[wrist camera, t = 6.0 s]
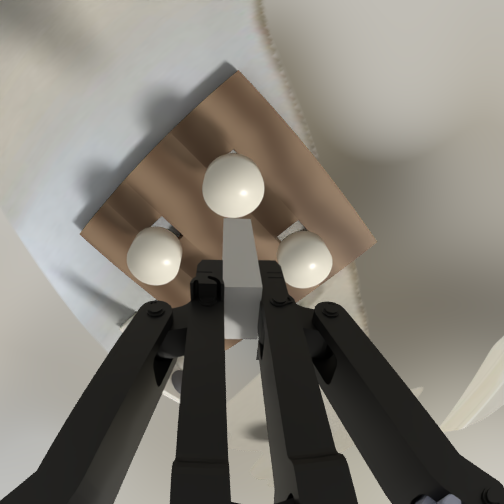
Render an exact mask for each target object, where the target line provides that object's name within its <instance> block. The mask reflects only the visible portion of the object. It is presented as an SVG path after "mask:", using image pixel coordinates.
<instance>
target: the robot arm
mask: <svg viewBox="0 0 504 504" xmlns="http://www.w3.org/2000/svg"><path fill="white" fill-rule="evenodd" d="M190 296H191V301H190V302H189V303H187V304H185V305H183V306H180V307H176V308H172V307H171V305H169V304H168V303H167V302H164V301H157V300H155V301H149V302H147V303H145V304H143V305H142V306H141V307H140V309H139V310H138V311H137V313H136V314H135V316H134V317H133V319H132V320H131V321H130V323H129V324H128V326H127V327H126V329H125V330H124V332H123V333H122V335H121V336H120V338H119V339H118V341H117V342H116V343H115V345H114V346H113V348H112V349H111V351H110V352H109V354H108V355H107V357H106V359H105V360H104V362H103V363H102V365H101V366H100V368H99V369H98V371H97V372H96V374H95V375H94V377H93V379H92V380H91V382H90V383H89V385H88V387H87V388H86V389H85V391H84V393H83V394H82V396H81V398H80V399H79V400H78V402H77V404H76V405H75V407H74V409H73V410H72V412H71V413H70V415H69V417H68V418H67V420H66V422H65V423H64V425H63V427H62V428H61V430H60V432H59V433H58V435H57V437H56V438H55V440H54V442H53V443H52V445H51V447H50V449H49V450H48V452H47V454H46V456H45V458H44V459H43V461H42V463H41V464H40V466H39V468H38V470H37V471H36V472H35V473H33V474H32V475H31V476H30V477H29V478H27V479H26V480H25V481H24V482H23V483H21V484H20V485H19V486H18V487H17V488H15V489H14V490H13V491H12V492H10V493H9V494H8V495H7V496H6V497H4V498H3V499H2V500H1V501H0V504H113V503H114V501H115V499H116V496H117V494H118V492H119V489H120V487H121V484H122V482H123V480H124V478H125V476H126V473H127V471H128V469H129V466H130V464H131V462H132V459H133V457H134V455H135V453H136V450H137V448H138V446H139V444H140V441H141V439H142V437H143V435H144V432H145V430H146V428H147V426H148V423H149V421H150V419H151V417H152V415H153V412H154V410H155V408H156V405H157V403H158V401H159V399H160V397H161V395H162V392H163V390H164V388H165V386H166V384H167V382H168V379H169V377H170V375H171V373H172V371H173V368H174V366H175V364H176V362H177V358H178V357H181V356H184V363H183V373H182V383H181V394H180V406H179V419H178V431H177V446H176V458H175V460H174V462H173V465H172V473H171V492H170V504H238V503H234V502H231V495H230V477H229V476H230V474H229V462H228V443H227V415H226V385H225V384H226V382H225V339H257V336H259V341H258V350H257V359H256V360H259V362H260V371H261V379H262V388H263V396H264V404H265V413H266V421H267V429H268V438H269V446H270V454H271V462H272V470H273V478H274V487H275V494H274V504H358V502H357V498H356V494H355V490H354V486H353V482H352V478H351V474H350V471H349V467H348V463H347V461H346V458H345V457H344V456H343V454H340V453H338V452H337V451H336V448H335V445H334V441H333V437H332V433H331V429H330V425H329V421H328V418H327V414H326V410H325V406H324V403H323V399H322V395H321V391H320V388H319V385H320V387H321V389H322V390H323V392H324V394H325V395H326V397H327V399H328V400H329V402H330V404H331V405H332V407H333V409H334V410H335V412H336V414H337V415H338V417H339V419H340V420H341V422H342V424H343V425H344V427H345V429H346V430H347V432H348V434H349V435H350V437H351V439H352V440H353V442H354V444H355V445H356V447H357V448H358V450H359V452H360V453H361V455H362V457H363V458H364V460H365V462H366V463H367V465H368V466H369V468H370V470H371V471H372V473H373V475H374V476H375V478H376V480H377V481H378V483H379V485H380V486H381V488H382V490H383V491H384V493H385V494H386V496H387V497H388V499H389V500H390V501H391V503H392V504H504V487H503V485H502V484H501V483H500V482H499V481H498V480H496V479H495V478H493V477H492V476H490V475H489V474H487V473H486V472H484V471H483V470H481V469H480V468H478V467H477V466H476V465H474V464H473V463H471V462H470V461H468V460H467V459H465V458H464V457H463V456H461V455H460V454H459V453H458V452H457V450H456V449H455V448H454V446H453V445H452V444H451V443H450V441H449V440H448V438H447V437H446V436H445V435H444V433H443V432H442V431H441V429H440V428H439V427H438V425H437V424H436V423H435V421H434V420H433V419H432V418H431V416H430V415H429V414H428V412H427V411H426V410H425V409H424V407H423V406H422V405H421V403H420V402H419V401H418V399H417V398H416V397H415V396H414V394H413V393H412V392H411V390H410V389H409V388H408V387H407V385H406V384H405V383H404V382H403V380H402V379H401V378H400V377H399V375H398V374H397V373H396V372H395V370H394V369H393V368H392V367H391V365H390V364H389V363H388V362H387V360H386V359H385V358H384V357H383V355H382V354H381V353H380V352H379V350H378V349H377V348H376V347H375V345H374V344H373V343H372V342H371V341H370V339H369V338H368V337H367V336H366V334H365V333H364V332H363V331H362V330H361V328H360V327H359V326H358V325H357V323H356V322H355V321H354V320H353V319H352V317H351V316H350V315H349V314H348V313H347V311H346V310H345V309H344V308H343V307H342V306H340V305H338V304H336V303H333V302H321V303H318V304H317V305H316V306H315V309H310V308H305V307H302V306H299V305H297V304H296V302H295V300H294V298H293V297H291V296H290V295H289V294H288V290H287V286H286V283H285V279H284V276H283V272H282V269H281V266H280V265H279V264H278V263H277V262H276V261H275V260H258V258H257V252H256V247H255V241H254V235H253V229H252V224H251V219H234V218H224V223H223V257H222V260H201V262H200V263H199V264H198V265H197V271H196V277H194V278H193V279H192V280H191V282H190Z"/></svg>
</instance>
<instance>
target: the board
mask: <svg viewBox="0 0 504 504" xmlns="http://www.w3.org/2000/svg"><path fill="white" fill-rule="evenodd" d="M233 149H234V150H235V151H236V152H237V153H238V154H242V155H245V156H247V157H249V158H250V159H251V160H253V161H254V162H255V164H256V165H257V166H258V168H259V170H260V173H261V175H262V178H263V182H264V195H263V198H262V201H261V202H260V204H259V205H258V207H257V208H256V209H255V210H254V211H252V212H251V213H249V214H247V215H245V216H242V217H238V218H234V219H251V224H252V229H253V235H254V241H255V247H256V252H257V258H258V260H275V261H276V262H277V263H278V261H277V249H278V247H279V245H280V243H281V241H280V240H279V239H278V238H277V236H278V235H280V234H281V233H282V232H283V231H285V230H286V229H287V228H288V227H290V226H291V225H292V224H293V223H295V222H296V221H297V220H299V221H300V222H301V223H302V224H303V226H304V227H305V228H306V229H307V230H308V231H310V232H313V233H315V234H317V235H319V236H320V237H321V238H322V240H323V241H324V243H325V245H326V247H327V248H328V250H329V252H330V254H331V256H332V268H331V271H330V273H329V275H328V276H327V277H326V278H325V279H324V280H323V281H322V282H321V283H319V284H318V285H316V286H313V287H310V288H296V287H293V286H291V285H289V284H288V283H286V282H285V283H286V286H287V290H288V294H289V295H290V296H291V297H293V298H294V300H295V302H298V301H299V300H301V299H302V298H303V297H305V296H306V295H308V294H309V293H310V292H312V291H313V290H315V289H316V288H317V287H319V286H320V285H321V284H323V283H324V282H325V281H327V280H328V279H330V278H331V277H332V276H334V275H335V274H336V273H338V272H339V271H340V270H342V269H343V268H344V267H346V266H347V265H348V264H350V263H351V262H352V261H353V260H355V259H356V258H357V257H359V256H360V255H361V254H363V253H364V252H365V251H366V250H368V249H369V248H370V247H371V246H373V245H374V244H375V243H377V241H376V239H375V238H374V236H373V235H372V233H371V232H370V231H369V229H368V228H367V226H366V225H365V223H364V222H363V221H362V219H361V218H360V216H359V215H358V214H357V212H356V211H355V209H354V208H353V207H352V205H351V204H350V203H349V201H348V200H347V199H346V197H345V196H344V195H343V193H342V192H341V190H340V189H339V188H338V187H337V185H336V184H335V183H334V181H333V180H332V179H331V177H330V176H329V175H328V173H327V172H326V171H325V170H324V168H323V167H322V166H321V164H320V163H319V162H318V161H317V159H316V158H315V157H314V156H313V154H312V153H311V152H310V151H309V150H308V148H307V147H306V146H305V145H304V143H303V142H302V141H301V140H300V139H299V137H298V136H297V135H296V134H295V133H294V131H293V130H292V129H291V128H290V127H289V126H288V124H287V123H286V122H285V121H284V120H283V119H282V117H281V116H280V115H279V114H278V113H277V112H276V111H275V109H274V108H273V107H272V106H271V105H270V104H269V103H268V102H267V100H266V99H265V98H264V97H263V96H262V95H261V94H260V93H259V92H258V91H257V89H256V88H255V87H254V86H253V85H252V84H251V83H250V82H249V81H248V80H247V79H246V78H245V77H244V76H243V74H242V73H241V72H240V71H239V70H238V71H237V72H236V73H235V74H233V75H232V76H231V77H230V78H229V79H227V80H226V81H225V82H224V83H223V84H222V85H220V86H219V87H218V88H217V89H216V90H215V91H213V92H212V93H211V94H210V95H209V96H208V97H207V98H206V99H204V100H203V101H202V102H201V103H200V104H199V105H198V106H197V107H196V108H195V109H193V110H192V111H191V112H190V113H189V114H188V115H187V116H186V117H185V118H184V119H183V120H182V121H181V122H180V123H179V124H178V125H177V126H176V127H175V128H174V129H173V130H171V131H170V132H169V133H168V134H167V135H166V136H165V137H164V138H163V139H162V140H161V141H160V142H159V144H158V145H157V146H156V147H155V148H154V149H153V150H152V151H151V152H150V153H149V154H148V155H147V156H146V157H145V158H144V159H143V160H142V161H141V162H140V163H139V164H138V166H137V167H136V168H135V169H134V170H133V171H132V172H131V173H130V174H129V175H128V176H127V178H126V179H125V180H124V181H123V182H122V183H121V184H120V185H119V187H118V188H117V189H116V190H115V191H114V192H113V194H112V195H111V196H110V197H109V198H108V199H107V201H106V202H105V203H104V204H103V205H102V207H101V208H100V209H99V210H98V211H97V213H96V214H95V215H94V216H93V218H92V219H91V220H90V221H89V223H88V224H87V225H86V226H85V228H84V229H83V230H82V231H81V233H80V235H81V236H82V237H83V238H84V239H85V240H86V241H88V242H89V243H90V244H91V245H92V246H93V247H94V248H95V249H97V250H98V251H99V252H100V253H101V254H102V255H104V256H105V257H106V258H107V259H108V260H109V261H110V262H112V263H113V264H114V265H115V266H116V267H118V268H119V269H120V270H121V271H122V272H124V273H125V274H126V275H127V276H128V277H130V278H131V279H132V280H133V281H134V282H136V283H137V284H138V285H139V286H141V287H142V288H143V289H144V290H146V291H147V292H148V293H149V294H151V295H152V296H153V297H154V298H156V299H157V300H158V301H164V302H167V303H168V304H169V305H171V307H172V308H176V307H180V306H183V305H185V304H187V303H189V302H190V301H191V296H190V282H191V280H192V279H193V278H194V277H196V271H197V265H198V264H199V263H200V262H201V260H222V257H223V223H224V218H228V217H224V216H221V215H219V214H217V213H215V212H214V211H213V210H211V209H210V207H209V206H208V205H207V203H206V202H205V200H204V197H203V191H202V187H203V181H204V177H205V173H206V170H207V168H208V166H209V165H210V164H211V163H212V162H213V161H214V160H215V159H216V158H218V157H219V156H222V155H225V154H228V153H229V152H231V151H232V150H233ZM161 216H163V217H164V218H165V219H166V220H167V221H168V222H169V223H170V224H171V225H172V226H174V227H175V228H176V229H177V230H178V231H179V232H180V233H181V235H180V236H179V237H178V239H179V241H180V243H181V245H182V258H181V262H180V267H179V271H178V273H177V275H176V276H175V278H174V279H173V280H171V281H170V282H168V283H166V284H163V285H149V284H146V283H143V282H141V281H140V280H138V279H137V278H136V277H135V276H134V275H133V274H132V273H131V272H130V270H129V268H128V265H127V253H128V251H129V249H130V247H131V245H132V243H133V241H134V239H135V237H136V236H137V234H138V233H139V232H140V231H142V230H143V229H145V228H148V227H151V226H152V225H153V224H154V223H155V222H156V221H157V220H158V219H159V218H160V217H161ZM241 340H243V339H225V350H227V349H229V348H230V347H232V346H234V345H235V344H237V343H238V342H240V341H241Z"/></svg>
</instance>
